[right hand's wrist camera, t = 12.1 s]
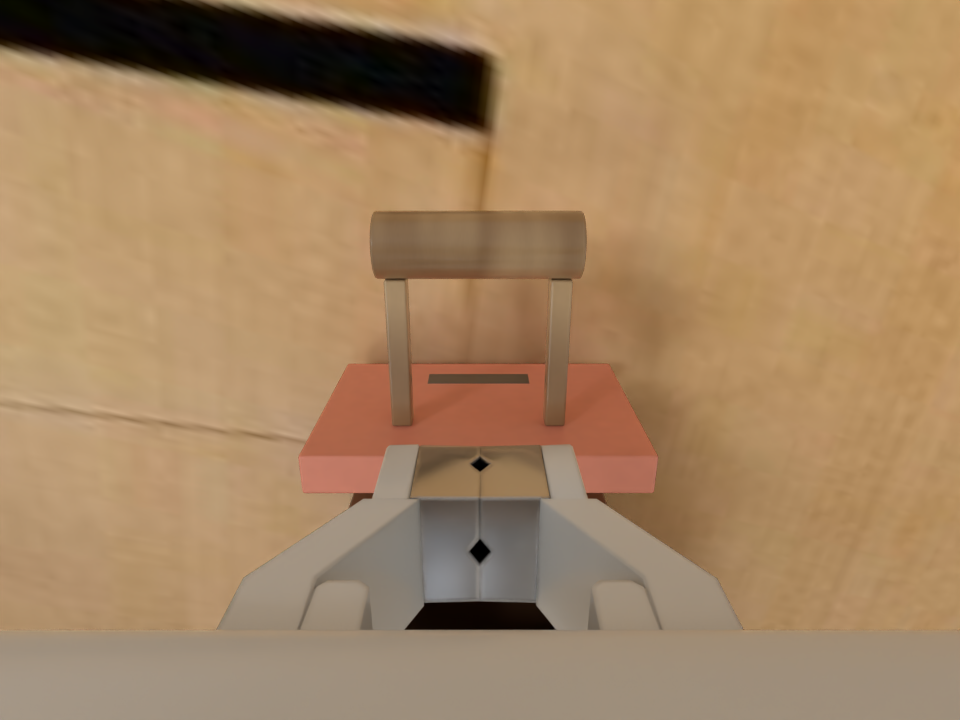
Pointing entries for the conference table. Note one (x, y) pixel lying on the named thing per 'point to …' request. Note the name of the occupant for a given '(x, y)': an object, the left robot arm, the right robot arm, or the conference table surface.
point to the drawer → (478, 380)
